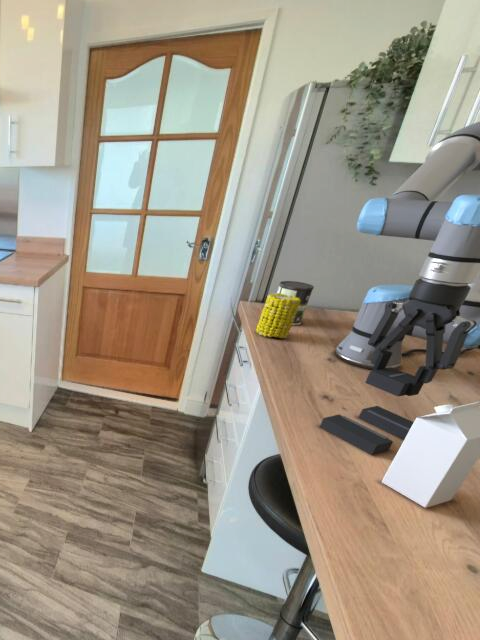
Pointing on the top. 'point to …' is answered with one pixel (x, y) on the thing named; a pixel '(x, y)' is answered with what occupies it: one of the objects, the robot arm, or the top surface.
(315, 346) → the top surface
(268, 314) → the food
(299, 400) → the top surface
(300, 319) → the coffee can
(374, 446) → the pad row
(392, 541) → the top surface
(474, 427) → the milk carton
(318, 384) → the top surface
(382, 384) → the loose pad
